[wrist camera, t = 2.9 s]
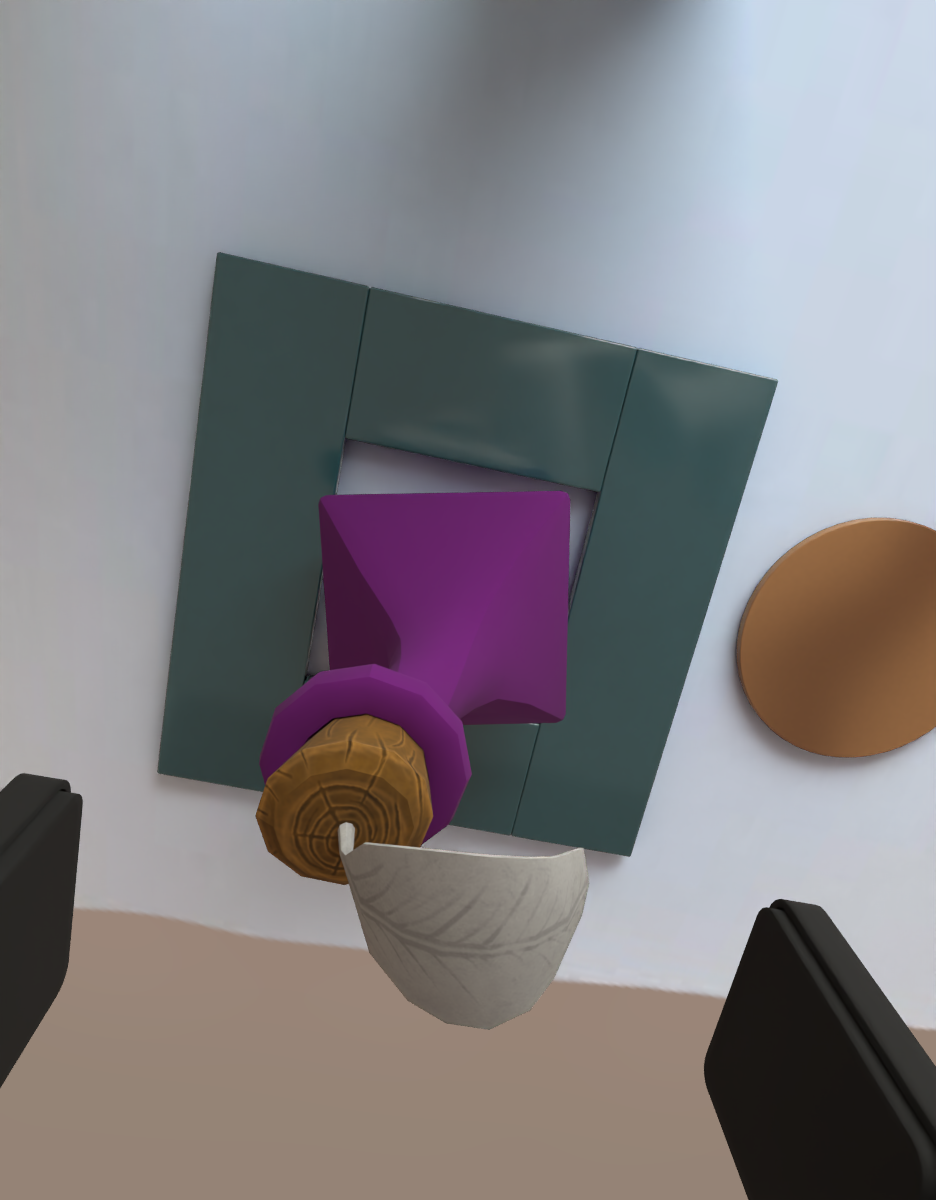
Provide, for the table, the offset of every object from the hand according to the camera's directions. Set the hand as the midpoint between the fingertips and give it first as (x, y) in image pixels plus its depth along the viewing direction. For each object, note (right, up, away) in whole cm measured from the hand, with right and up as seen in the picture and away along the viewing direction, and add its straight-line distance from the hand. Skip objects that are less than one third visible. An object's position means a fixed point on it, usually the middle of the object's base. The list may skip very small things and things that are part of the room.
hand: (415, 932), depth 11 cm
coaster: (+15, +3, +18) cm, 23 cm away
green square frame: (0, +5, +17) cm, 18 cm away
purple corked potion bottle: (0, +5, +17) cm, 18 cm away
